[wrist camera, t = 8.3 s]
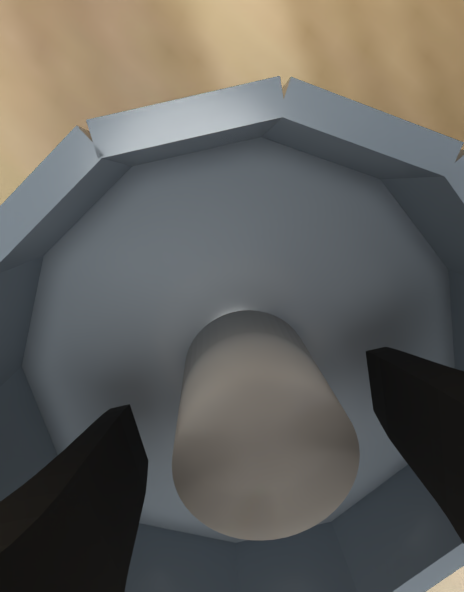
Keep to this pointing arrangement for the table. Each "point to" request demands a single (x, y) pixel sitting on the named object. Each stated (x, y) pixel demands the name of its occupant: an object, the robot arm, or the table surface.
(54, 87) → the table surface
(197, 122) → the bowl
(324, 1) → the table surface
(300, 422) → the pebble
